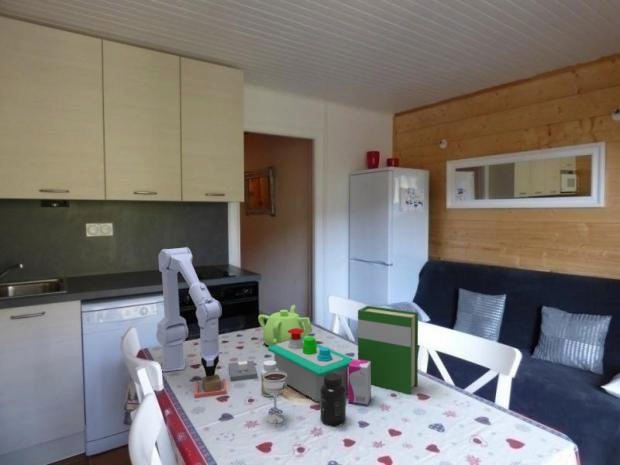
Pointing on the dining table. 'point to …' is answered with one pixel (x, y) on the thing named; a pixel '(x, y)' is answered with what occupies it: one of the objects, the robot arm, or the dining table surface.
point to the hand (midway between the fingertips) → (210, 379)
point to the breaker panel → (244, 374)
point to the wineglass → (274, 390)
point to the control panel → (309, 363)
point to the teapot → (283, 326)
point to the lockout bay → (211, 391)
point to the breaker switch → (242, 366)
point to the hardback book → (389, 347)
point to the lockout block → (211, 383)
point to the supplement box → (359, 382)
